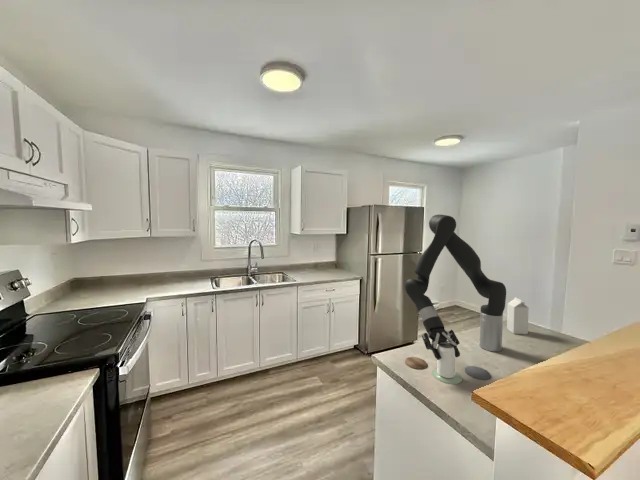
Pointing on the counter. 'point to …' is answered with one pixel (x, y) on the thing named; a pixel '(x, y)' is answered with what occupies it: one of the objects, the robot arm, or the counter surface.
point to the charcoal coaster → (477, 372)
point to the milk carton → (517, 317)
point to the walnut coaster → (415, 363)
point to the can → (446, 360)
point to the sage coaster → (454, 380)
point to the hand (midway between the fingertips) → (448, 357)
